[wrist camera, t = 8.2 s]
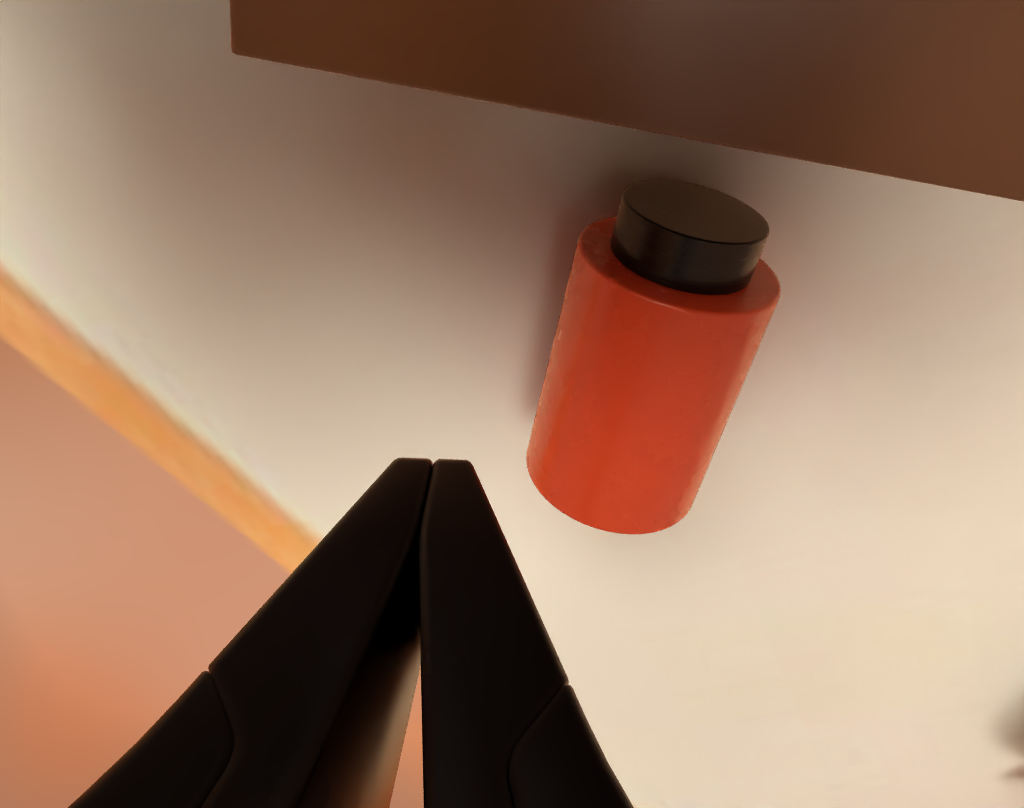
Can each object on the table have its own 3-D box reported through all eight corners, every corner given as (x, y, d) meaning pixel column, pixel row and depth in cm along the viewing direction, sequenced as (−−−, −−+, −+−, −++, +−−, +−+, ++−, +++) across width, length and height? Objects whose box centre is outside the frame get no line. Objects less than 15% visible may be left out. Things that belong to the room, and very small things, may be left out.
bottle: (721, 478, 22) (639, 565, 19) (585, 400, 24) (490, 466, 21) (832, 225, 18) (750, 283, 15) (656, 153, 20) (548, 191, 17)
